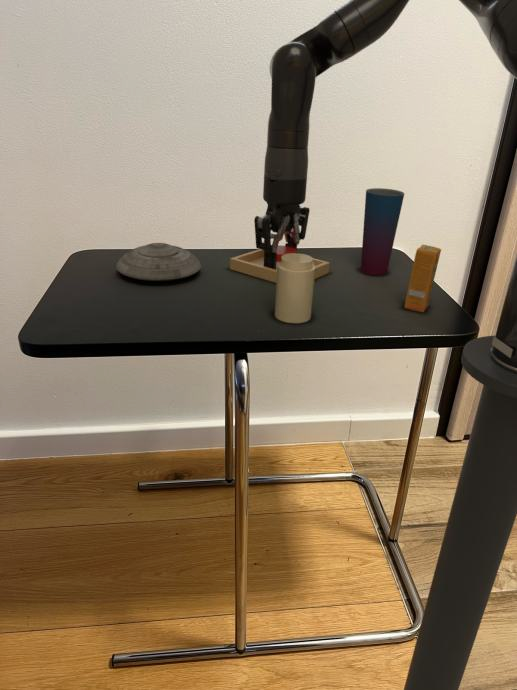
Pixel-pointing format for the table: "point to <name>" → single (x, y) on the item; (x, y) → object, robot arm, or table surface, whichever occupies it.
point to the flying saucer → (158, 263)
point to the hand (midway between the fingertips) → (279, 266)
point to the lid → (284, 251)
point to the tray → (255, 267)
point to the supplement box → (422, 278)
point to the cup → (379, 229)
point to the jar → (294, 288)
